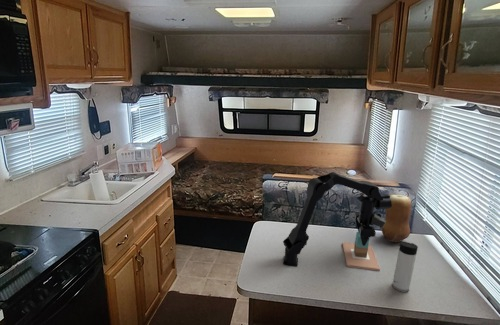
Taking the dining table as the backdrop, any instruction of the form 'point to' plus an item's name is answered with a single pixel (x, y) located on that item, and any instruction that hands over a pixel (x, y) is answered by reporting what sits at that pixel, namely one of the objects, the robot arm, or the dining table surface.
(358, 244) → the teal block
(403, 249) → the travel mug
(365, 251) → the walnut block
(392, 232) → the butternut squash
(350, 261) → the baseplate
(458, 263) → the dining table surface
